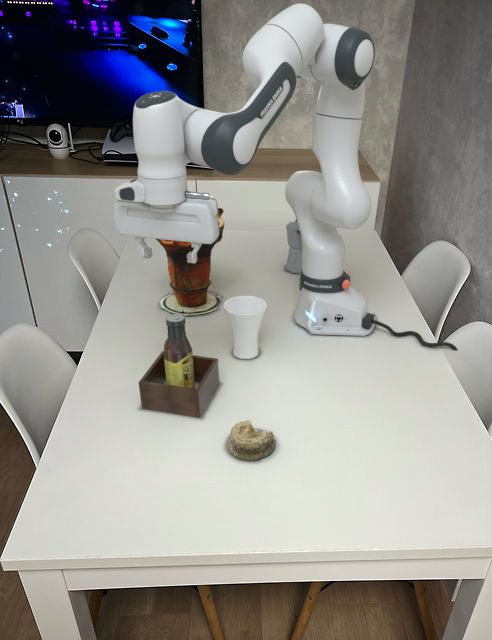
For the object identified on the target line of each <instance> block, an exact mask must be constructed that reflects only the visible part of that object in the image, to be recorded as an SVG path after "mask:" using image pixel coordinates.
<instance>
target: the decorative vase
mask: <svg viewBox="0 0 492 640" xmlns="http://www.w3.org/2000/svg"><path fill="white" fill-rule="evenodd" d="M223 214H224V209H223V208H222V207H218V214H217V219H218V225H219V236H218V238H217V239H216V240H215V241H214V242H213V243H212V244H203V243H202V245H201V247H200V248H199V250H198V252H197V262H196V263H195V264H194V263H187V260H188V259H187V254H189V252H192V251H193V250H194V247H191V242H183V241H173V240H163V239H155V241H157V242H158V243H159V244H160V246H162V248H163V250H164V251H165V255H166V258H167V271H168V275H169V279H170V282H169V286H170V288H171V290H172V293H170V294H168V295H166V296H163V297H162V299H160V301H159V303H160V305H159V307H161V308H162V309H164V310H166V311H167V312H170V313H172V314H181V315H183V316H184V317H186V316H191V315H193V316H196V315H197V316H198V315H203V314H208V313H211V312H213V311H216V310H217V309H218V304H220V303H221V300H222V298H221V296H220V295H216V293H212V292H210V291H208V290H209V287H210V286H211V284H213V281H212V280H211V279H210V277H211V272H212V271H211V269H212V267H211V265H212V258H211V257H212V250H213V249H214V247H215V246H216V245H217V244H218V243H220V242H221V241H222V240H223V234H224V229H225V222H224V221H223V219H222V215H223ZM213 288H214V290H215V292H217V290H216V289H215V286H213Z"/></svg>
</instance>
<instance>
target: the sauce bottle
mask: <svg viewBox="0 0 492 640" xmlns="http://www.w3.org/2000/svg"><path fill="white" fill-rule="evenodd" d="M165 324H166V327H167V338H166V340H165V342H164V344H163V351H164V362H165V373H166V380H165V384H167V385H173V386H180V387H187V388H194V389H196V382H194V367H193V355H194V354H193V353H194V352H193V348H192V345H191V343H190V342H189V339H188V336H187V333H186V316H184V315H182V314H177V313H172V314H168V315H167V316H166V317H165Z"/></svg>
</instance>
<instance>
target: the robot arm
mask: <svg viewBox="0 0 492 640" xmlns="http://www.w3.org/2000/svg"><path fill="white" fill-rule="evenodd" d="M375 56H376V49H375V44H374V41H373V38H372V36H371V34H370V33H369V32H368V31H366V30H364V29H362V28H359V27H355V26H351V27H349V26H345V25H341V24H337V23H324V22H323V19H322V17H321V16H320V13H319V12H318V11H317V10H316V9H315V8H313V7H312V6H310V5H309V4H307V3H295V4H292V5H290V6H288V7H286V8H285V9H283V10H282V11H280V12H279V13H277V14H276V15H275V16H273V17H272V18H271V19H270V20H269V21H267V22H266V23H265V24H264V25H262V27H260V29H259V30H258V31H257V32H256V33H254V34H253V36H252V37H251V38H250V39H249V40H248V42H247V44H246V46H245V48H244V50H243V54H242V63H243V65H242V66H243V70H244V73H245V76H246V78H247V80H248V82H249V83H250V85H251V87H253V89H254V90H255V91H254V93H252V95H251V97H249V99H248V100H247V102H246V103H245V104H244V105H243V107H242V108H241V109H239V110H237V111H233V112H220V111H215V110H209V109H207V108H202V107H198V106H195V105H193V104H190V103H187V102H186V101H184V100H182V99H181V98H179V96H178V95H177V94H176V92H173V91H169V90H159V91H152V92H148V93H145V94H143V95H141V96H139V98H138V99H137V100H136V101H135V103H134V106H133V113H132V132H133V142H134V151H135V154H136V157H137V160H138V166H137V177H135V178H132V179H129V180H127V181H124V182H123V183H121V184H120V185H119V186H117V187H116V188H115V189H114V191H113V193H114V197H115V200H116V201H115V203H114V205H113V222H114V228H115V231H117V233H118V234H119V235H120V236H125V237H134V242H135V244H136V245H137V247H138V248H139V250H140V251H141V257H142V259H151V258H152V257H153V247H149V246H148V245H147V243H146V241H145V239H155V240H156V239H163V240H173V241H183V242H191V247H194V250H193V251H192V252H189V254H187V259H188V260H187V263H194V264H195V263H196V262H197V252H198V250H199V248H200V247H201V245H202V243H203V244H212V243H213V242H214V241H215V240H216V239H217V238H218V236H219V225H218V219H217V214H218V208H219V203H218V200H217V199H216V198H215V197H214V196H212V195H211V194H210V193H208V192H199V191H198V192H197V191H190V190H189V189H188V188H189V187H188V176H187V167H186V166H187V164H190V163H192V164H194V165H198V166H202V167H206V168H209V169H212V170H214V171H216V172H219V173H221V174H224V175H227V176H235V175H238V174H241V172H243V171H244V170H246V168H248V166H249V165H250V164H251V163H252V161H253V160H254V157H255V155H256V153H257V152H258V148H259V146H260V144H261V143H262V141H263V139H264V138H265V137H266V135H267V133H268V132H269V131H270V129H271V128H272V127H273V125H274V124H275V122H276V121H277V119H278V118H279V117H280V115H281V114H282V112H283V111H284V109H285V108H286V106H287V105H288V103H289V102H290V100H291V99H292V97H293V95H294V93H295V90H296V87H297V86H296V85H297V78H298V79H305V80H309V81H313V82H317V83H320V88H319V93H318V97H317V100H316V101H317V102H316V107H315V115H314V123H313V129H312V138H311V149H312V152H313V154H314V156H315V157H316V158H317V160H318V163H319V166H320V171H321V172H319V171H317V170H298V171H296V172H294V173H293V174H292V175H291V176H290V177H289V179H287V183H286V185H285V190H284V197H285V200H286V203H287V204H288V205H289V206H290V209H291V210H292V212H293V214H294V217H295V220H296V219H297V223H298V226H299V230H300V234H301V239H302V269H301V271H300V274H299V279H298V280H299V281H298V287H299V298H298V303H297V306H296V310H295V312H294V316H293V320H294V322H295V323H296V324H298V325H299V326H300V327H302V328H304V329H306V330H307V331H308V333H310V334H311V335H320V336H321V335H323V336H326V335H328V336H355V337H356V336H359V337H360V336H362V337H364V336H367V335H369V334H371V333H372V332H373V331H374V328H375V326H376V325H377V326H379V327H382V328H384V329H385V330H387V331H388V332H389V333H390V334H391V335H393V336H395V337H405V336H408V335H410V336H414V337H416V338H417V340H418V341H419V343H420V344H421V345H423V346H425V347H430V348H436V347H437V348H438V347H449V348H451V349H452V350H453V351H456V352H457V351H458V350H459V349H458V348H457V346H455V345H454V344H453V343H451V342H447V341H441V342H440V341H439V342H428V341H425V340H424V338H423V337H422V336H421V334H420V333H419V332H417V331H414V330H406V331H402V332H397V331H395V330H394V329H393V328H392V327H391V326H389V325H388V324H386V323H383V322H382V321H378V320H376V316H375V314H376V313H375V314H374V312H373V311H371V310H370V309H369V306H368V301H367V298H366V297H365V296H364V295H363V294H362V293H360V292H359V291H358V290H357V289H355V288H354V287H353V286H352V285H351V272H350V271H348V273H347V272H346V271H345V270H344V265H345V255H346V244H345V242H344V239H343V237H342V236H341V235H340V233H339V231H338V229H344V230H357V229H359V228H360V227H362V226H364V224H365V223H366V222H367V220H368V219H369V217H370V214H371V211H372V199H371V196H370V194H369V192H368V190H367V189H366V187H365V185H364V183H363V180H362V176H361V171H360V164H359V145H360V137H361V131H362V130H361V129H362V124H363V117H364V110H365V99H366V98H365V97H366V79H367V78H368V77H369V74H370V73H371V71H372V68H373V66H374V63H375V58H376V57H375Z"/></svg>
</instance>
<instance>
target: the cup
mask: <svg viewBox="0 0 492 640" xmlns="http://www.w3.org/2000/svg"><path fill="white" fill-rule="evenodd" d="M267 306H268V305H267V302H266V301H265V300H264V299H263V298H261V297H259V296H258V297H257V296H253V295H237V296H232V297H230V298H228V299H227V300H225V302H224V303H223V309H224V311H225V314H226V317H227V319H228V322H229V325H230V329H231V333H232V340H233V347H232V354H233V356H234V357H236V358H238V359H240V360H250V359H254V358H256V357H257V356H258V355H259V354H260V353H259V333H260V328H261V324H262V321H263V318H264V315H265V313H266V309H267Z"/></svg>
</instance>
